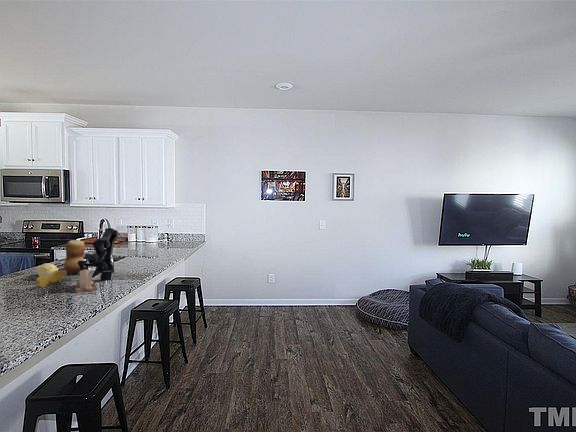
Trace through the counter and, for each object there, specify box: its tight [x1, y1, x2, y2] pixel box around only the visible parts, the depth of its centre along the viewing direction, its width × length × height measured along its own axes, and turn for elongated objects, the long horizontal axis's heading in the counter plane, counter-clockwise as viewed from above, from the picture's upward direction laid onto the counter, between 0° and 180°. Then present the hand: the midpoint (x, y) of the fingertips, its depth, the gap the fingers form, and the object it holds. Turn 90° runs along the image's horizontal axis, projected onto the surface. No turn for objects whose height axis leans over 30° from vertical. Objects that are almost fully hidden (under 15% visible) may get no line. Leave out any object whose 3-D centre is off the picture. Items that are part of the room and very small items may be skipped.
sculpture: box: [36, 262, 59, 278], centre depth 255 cm, size 12×12×11 cm
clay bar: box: [79, 269, 92, 289], centre depth 223 cm, size 4×4×12 cm
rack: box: [74, 280, 97, 296], centre depth 227 cm, size 11×21×3 cm, turn 29°
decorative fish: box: [35, 270, 68, 289], centre depth 237 cm, size 22×3×10 cm, turn 168°
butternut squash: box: [63, 239, 86, 275], centre depth 272 cm, size 14×13×25 cm
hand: (85, 276), depth 223 cm, fingers open, 9 cm apart
